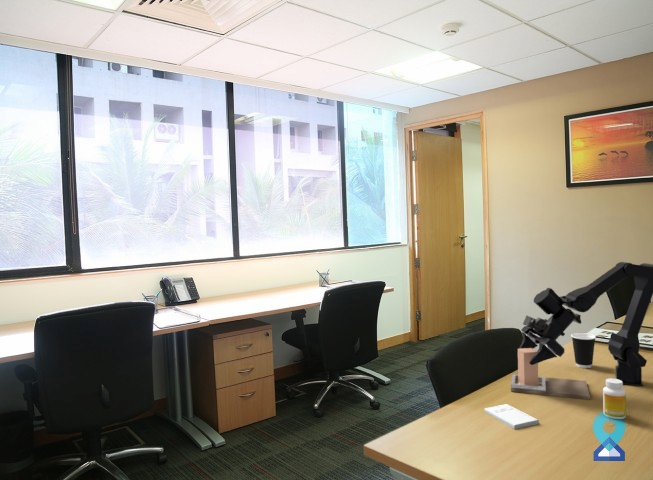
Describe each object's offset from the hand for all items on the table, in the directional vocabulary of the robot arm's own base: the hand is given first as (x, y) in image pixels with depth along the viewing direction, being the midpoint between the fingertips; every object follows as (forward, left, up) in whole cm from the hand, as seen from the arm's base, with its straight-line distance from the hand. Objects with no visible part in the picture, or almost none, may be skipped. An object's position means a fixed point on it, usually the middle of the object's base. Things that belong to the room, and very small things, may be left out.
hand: (523, 359), depth 155 cm
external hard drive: (+3, +25, -10) cm, 27 cm away
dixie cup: (-19, -29, -9) cm, 36 cm away
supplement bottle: (-23, +15, -9) cm, 29 cm away
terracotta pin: (-1, 0, -8) cm, 8 cm away
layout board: (-7, -2, -9) cm, 12 cm away
